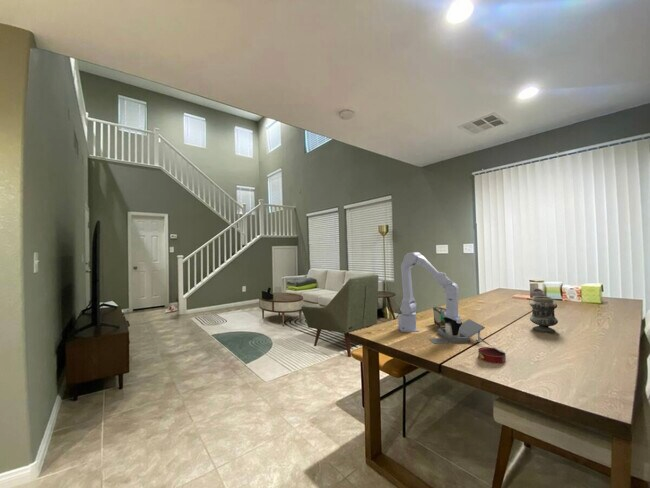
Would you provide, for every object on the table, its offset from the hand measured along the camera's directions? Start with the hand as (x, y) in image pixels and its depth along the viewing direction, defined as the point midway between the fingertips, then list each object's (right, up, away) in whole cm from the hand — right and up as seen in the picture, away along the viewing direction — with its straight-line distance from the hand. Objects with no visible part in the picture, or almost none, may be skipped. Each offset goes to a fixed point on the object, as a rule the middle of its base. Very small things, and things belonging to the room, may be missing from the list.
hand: (452, 333), depth 141 cm
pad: (-9, -3, -4) cm, 10 cm away
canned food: (+5, -3, -25) cm, 26 cm away
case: (+4, -2, 0) cm, 5 cm away
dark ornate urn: (+53, -1, +9) cm, 54 cm away
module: (0, -2, 0) cm, 2 cm away
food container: (+3, -2, +20) cm, 20 cm away
